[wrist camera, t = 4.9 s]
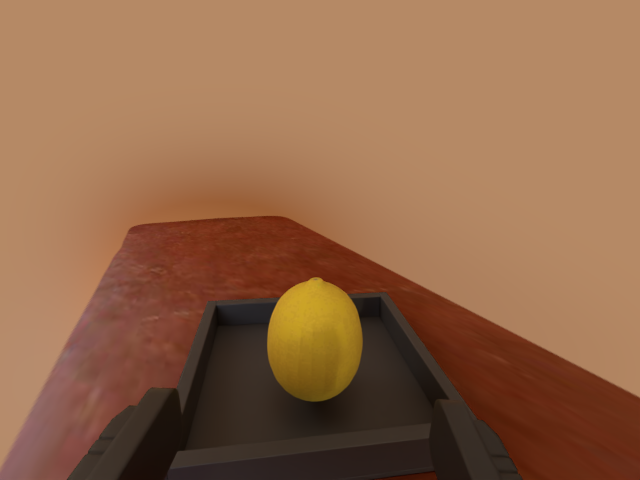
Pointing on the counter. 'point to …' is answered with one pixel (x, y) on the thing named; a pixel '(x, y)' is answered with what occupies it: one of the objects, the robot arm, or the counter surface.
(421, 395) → the dark grey tray
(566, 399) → the counter surface
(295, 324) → the lemon
